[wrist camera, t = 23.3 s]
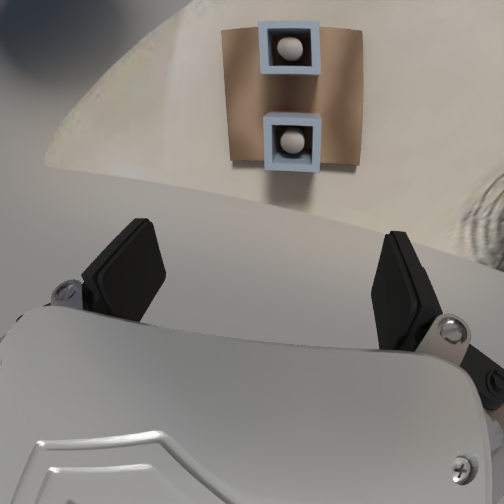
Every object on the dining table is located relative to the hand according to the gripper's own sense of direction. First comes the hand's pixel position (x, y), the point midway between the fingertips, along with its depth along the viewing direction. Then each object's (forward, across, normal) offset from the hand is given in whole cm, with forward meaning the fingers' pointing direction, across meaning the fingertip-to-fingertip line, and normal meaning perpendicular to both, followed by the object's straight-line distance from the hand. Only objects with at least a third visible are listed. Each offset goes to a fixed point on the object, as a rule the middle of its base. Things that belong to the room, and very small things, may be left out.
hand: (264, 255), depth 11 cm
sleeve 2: (+25, 0, 0) cm, 25 cm away
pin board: (+26, 0, -5) cm, 27 cm away
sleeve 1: (+25, 0, -10) cm, 27 cm away
